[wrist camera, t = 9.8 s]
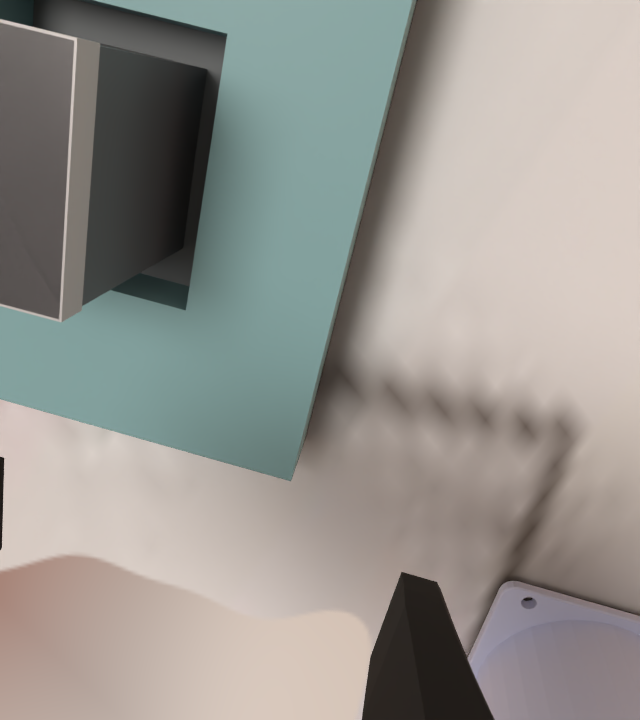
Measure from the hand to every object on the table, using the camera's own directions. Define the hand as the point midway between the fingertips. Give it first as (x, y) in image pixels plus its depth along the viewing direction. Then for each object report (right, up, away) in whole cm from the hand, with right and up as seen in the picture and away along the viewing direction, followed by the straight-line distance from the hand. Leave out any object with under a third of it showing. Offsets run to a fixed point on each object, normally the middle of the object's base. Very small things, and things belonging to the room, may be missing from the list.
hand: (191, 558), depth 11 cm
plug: (-3, +10, +7) cm, 12 cm away
